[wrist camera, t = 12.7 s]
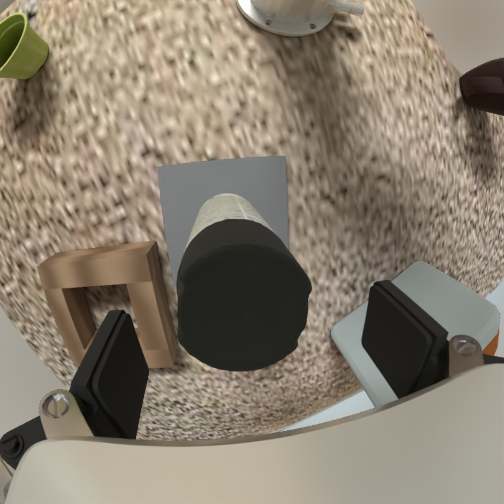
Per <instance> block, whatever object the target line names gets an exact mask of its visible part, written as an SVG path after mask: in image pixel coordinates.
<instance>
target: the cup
mask: <svg viewBox="0 0 504 504" xmlns="http://www.w3.org/2000/svg"><path fill="white" fill-rule="evenodd" d="M459 80H460V87H461V91H462V94H463V97H464V99H465V102H466V104H467V105H469V106H471V107H473V108H476V109H479V110H482V111H486V112H490V113H494V114H498V115H502V116H504V58H499V59H495V60H492V61H489V62H486V63H484V64H482V65H480V66H478V67H476V68H474V69H472V70H470V71H468V72H467V73H465V74H464V75H463V76H462V77H460V78H459Z"/></svg>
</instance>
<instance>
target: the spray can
mask: <svg viewBox="0 0 504 504" xmlns="http://www.w3.org/2000/svg"><path fill="white" fill-rule="evenodd" d="M176 285H177V295H178V315H177V318H178V334H177V338H178V340H179V342H180V344H181V345H182V346H183V347H184V349H185V350H186V351H187V352H188V353H189V354H190V355H192V356H193V357H195V358H196V359H198V360H199V361H201V362H203V363H205V364H207V365H209V366H211V367H213V368H217V369H220V370H227V371H252V370H258V369H262V368H265V367H267V366H270V365H273V364H275V363H277V362H278V361H280V360H282V359H283V358H285V357H286V356H287V355H289V354H290V353H292V352H293V351H294V350H295V349H296V347H297V346H298V338H299V336H300V334H301V332H302V331H303V330H304V328H305V325H306V323H307V315H308V298H309V294H310V293H311V290H312V286H311V282H310V280H309V278H308V276H307V274H306V273H305V272H304V270H303V269H302V267H301V266H300V265H299V264H298V262H297V261H296V259H295V258H294V257H293V255H292V254H291V253H290V251H289V250H288V249H287V247H286V246H285V244H284V243H283V241H282V240H281V239H280V238H279V237H278V236H277V234H276V233H275V232H274V231H273V230H272V229H271V227H270V226H269V225H268V224H267V222H266V221H265V220H264V219H263V218H262V217H261V215H260V214H259V213H258V212H257V211H256V209H255V208H254V207H253V206H252V205H251V204H250V203H249V202H248V201H247V200H246V199H245V198H243V197H241V196H239V195H236V194H231V193H224V194H219V195H216V196H214V197H212V198H210V199H209V200H208V201H206V202H205V203H204V205H203V206H202V207H201V209H200V211H199V213H198V216H197V218H196V221H195V223H194V226H193V229H192V231H191V234H190V237H189V240H188V242H187V245H186V248H185V251H184V254H183V257H182V260H181V263H180V266H179V270H178V274H177V281H176Z"/></svg>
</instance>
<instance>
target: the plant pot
mask: <svg viewBox="0 0 504 504" xmlns="http://www.w3.org/2000/svg"><path fill="white" fill-rule="evenodd" d="M48 50H49V48H48V45H47V43H46V42H45V41H44V40H43V39H42V38H41V37H40V36H39V35H38V34H37V33H36V32H35V31H34V30H33V29H32V28H31V27H30V25H29V23H28V19H27V16H26V15H25V14H24V13H15V14H12V15H10V16H9V17H7V18H6V19H4V20H3V21H2V22H1V23H0V78H14V79H28V78H30V77H32V76H33V75H35V74H36V73H37V72H38V70H39V68H40V67H41V66H42V65H43V64H44V62H45V61H46V58H47V55H48Z"/></svg>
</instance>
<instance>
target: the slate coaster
mask: <svg viewBox="0 0 504 504" xmlns="http://www.w3.org/2000/svg"><path fill="white" fill-rule="evenodd" d="M157 168H158V179H159V188H160V197H161V206H162V214H163V221H164V229H165V236H166V242H167V249H168V255H169V261H170V267H171V273H172V278H173V284H174V286H177V285H176V281H177V274H178V270H179V266H180V263H181V260H182V257H183V254H184V251H185V248H186V245H187V242H188V240H189V237H190V234H191V231H192V229H193V226H194V223H195V221H196V218H197V216H198V213H199V211H200V209H201V207H202V206H203V205H204V203H205V202H206V201H208V200H209V199H210V198H212V197H214V196H216V195H219V194H224V193H231V194H236V195H239V196H241V197H243V198H245V199H246V200H247V201H248V202H249V203H250V204H251V205H252V206H253V207H254V208H255V209H256V211H257V212H258V213H259V214H260V215H261V217H262V218H263V219H264V220H265V221H266V222H267V224H268V225H269V226H270V227H271V229H272V230H273V231H274V232H275V233H276V234H277V236H278V237H279V238H280V239H281V240H282V241H283V243H284V244H285V246H286V247H287V249H288V250H289V229H288V198H287V174H286V156H271V157H251V158H236V159H223V160H212V161H202V162H192V163H184V164H176V165H168V166H161V167H157Z"/></svg>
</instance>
